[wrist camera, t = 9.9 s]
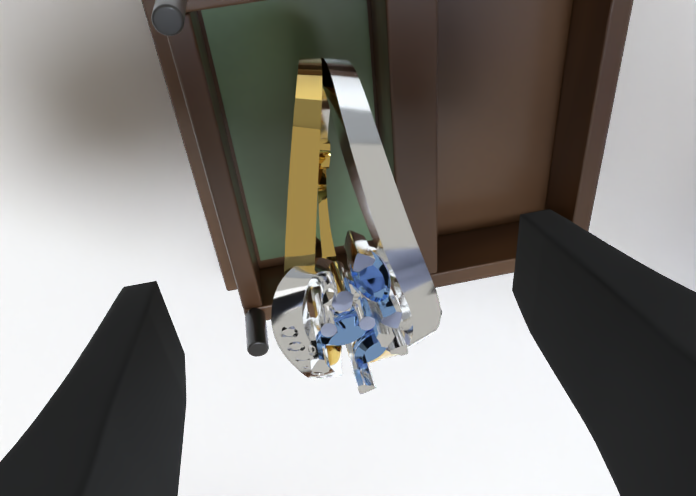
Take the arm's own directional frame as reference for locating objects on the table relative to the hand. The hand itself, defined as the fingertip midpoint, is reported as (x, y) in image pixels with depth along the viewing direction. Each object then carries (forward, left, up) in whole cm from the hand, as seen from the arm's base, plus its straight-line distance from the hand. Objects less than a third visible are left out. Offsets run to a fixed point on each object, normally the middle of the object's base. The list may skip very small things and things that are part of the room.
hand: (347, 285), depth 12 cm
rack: (-3, 0, -7) cm, 8 cm away
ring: (0, 0, -6) cm, 6 cm away
